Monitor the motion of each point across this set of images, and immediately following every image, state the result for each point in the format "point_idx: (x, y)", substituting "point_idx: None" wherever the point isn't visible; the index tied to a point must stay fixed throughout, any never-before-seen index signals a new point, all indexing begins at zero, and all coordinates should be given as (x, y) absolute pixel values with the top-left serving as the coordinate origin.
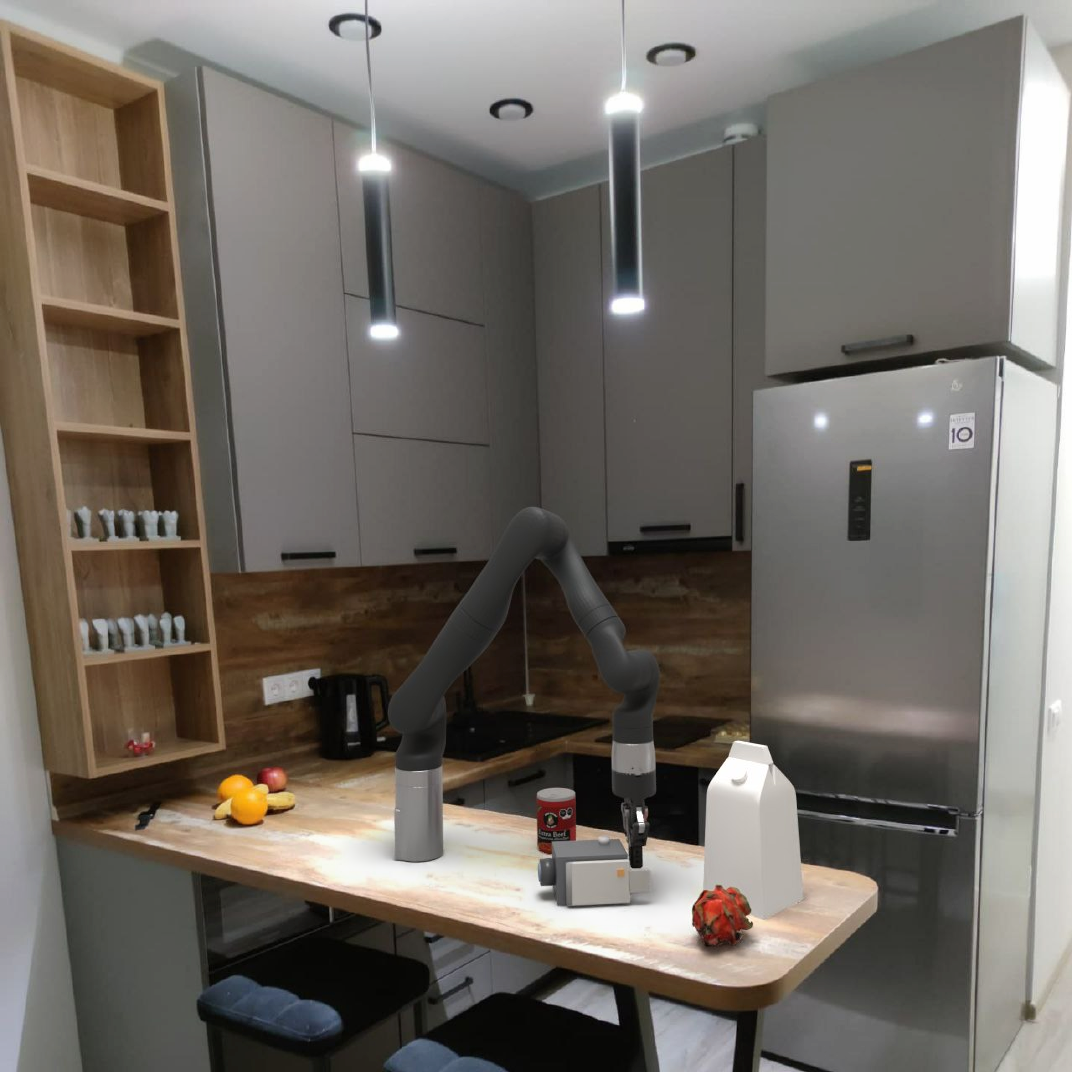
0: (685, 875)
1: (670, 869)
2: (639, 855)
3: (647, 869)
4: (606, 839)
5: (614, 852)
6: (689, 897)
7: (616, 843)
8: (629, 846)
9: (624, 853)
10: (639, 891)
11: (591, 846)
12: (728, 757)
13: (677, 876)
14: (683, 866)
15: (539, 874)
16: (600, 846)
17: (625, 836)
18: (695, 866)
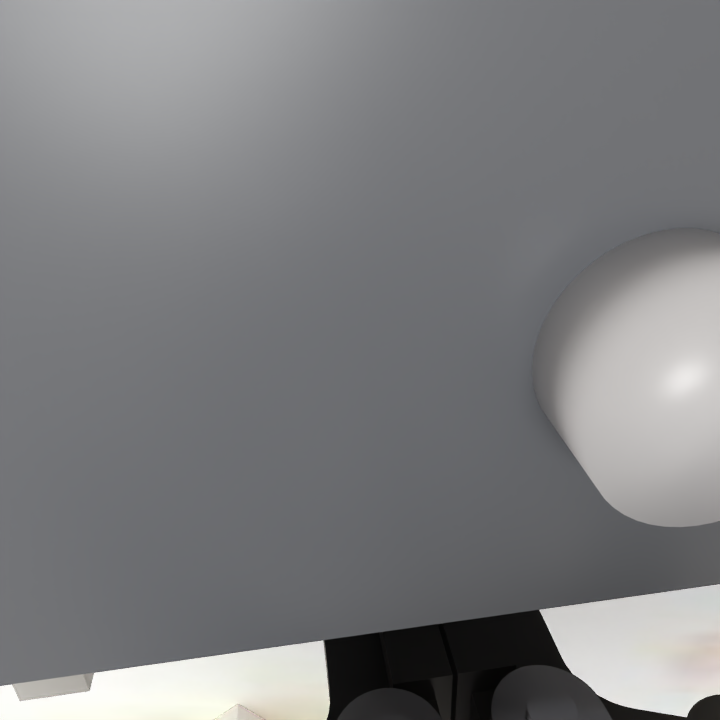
0: (567, 648)
1: (676, 591)
2: (327, 677)
3: (36, 684)
4: (579, 455)
5: (59, 506)
6: (243, 654)
7: (566, 541)
8: (378, 696)
9: (20, 647)
10: None
11: (514, 11)
12: None
13: (564, 616)
14: (693, 644)
15: None
16: (465, 254)
17: (716, 696)
18: (672, 687)
